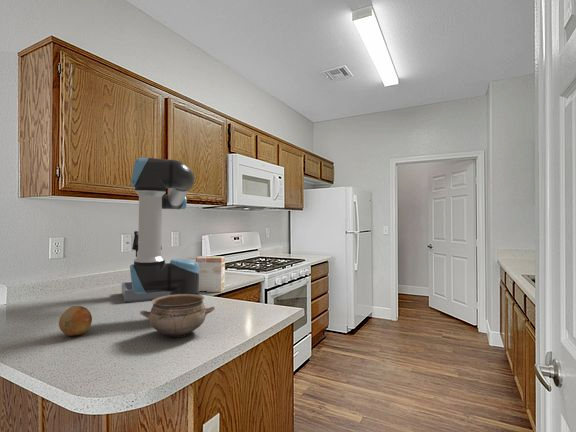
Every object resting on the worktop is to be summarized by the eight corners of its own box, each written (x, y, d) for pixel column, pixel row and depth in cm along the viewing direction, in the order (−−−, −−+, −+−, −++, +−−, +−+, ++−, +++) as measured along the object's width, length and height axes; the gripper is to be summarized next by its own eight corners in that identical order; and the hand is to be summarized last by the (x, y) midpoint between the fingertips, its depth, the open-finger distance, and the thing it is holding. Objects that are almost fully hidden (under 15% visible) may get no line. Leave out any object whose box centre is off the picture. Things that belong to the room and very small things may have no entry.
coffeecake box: (224, 289, 196) (225, 256, 196) (221, 292, 189) (221, 257, 189) (199, 289, 197) (200, 255, 198) (195, 291, 190) (195, 257, 191)
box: (125, 303, 163) (125, 290, 163) (121, 293, 184) (121, 282, 184) (177, 297, 175) (177, 286, 175) (168, 289, 196) (168, 279, 196)
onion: (53, 341, 111) (54, 310, 111) (64, 332, 121) (65, 303, 121) (86, 339, 114) (87, 309, 114) (95, 329, 123) (95, 302, 123)
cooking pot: (214, 323, 131) (214, 292, 131) (215, 340, 113) (215, 303, 113) (144, 328, 125) (145, 295, 125) (134, 346, 107) (134, 308, 107)
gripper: (169, 220, 182) (169, 263, 181) (133, 220, 185) (133, 262, 185) (161, 220, 174) (161, 264, 174) (124, 220, 178) (124, 263, 177)
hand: (146, 263), depth 179 cm, fingers closed on mug, 8 cm apart
